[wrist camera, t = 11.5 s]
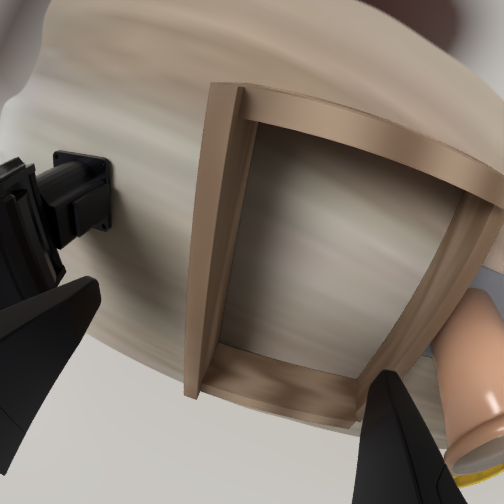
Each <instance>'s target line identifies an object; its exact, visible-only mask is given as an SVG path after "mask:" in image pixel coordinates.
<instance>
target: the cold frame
mask: <svg viewBox="0 0 504 504" xmlns="http://www.w3.org/2000/svg"><path fill="white" fill-rule="evenodd" d="M258 122H262V123H267V124H271V125H276V126H280V127H284V128H288V129H292V130H296V131H300V132H304V133H308V134H312V135H315V136H319V137H322V138H326V139H329V140H333V141H336V142H340V143H343V144H346V145H349V146H353V147H356V148H359V149H362V150H365V151H368V152H371V153H374V154H377V155H380V156H382V157H385V158H388V159H391V160H394V161H396V162H399V163H402V164H404V165H407V166H410V167H412V168H415V169H417V170H420V171H422V172H425V173H427V174H430V175H432V176H434V177H437V178H439V179H441V180H444V181H446V182H448V183H450V184H453V185H455V186H457V187H459V188H461V189H464V190H465V191H464V193H463V196H462V198H461V200H460V203H459V205H458V208H457V210H456V212H455V214H454V217H453V219H452V221H451V223H450V226H449V228H448V230H447V232H446V234H445V236H444V238H443V240H442V242H441V244H440V246H439V248H438V250H437V252H436V254H435V256H434V258H433V260H432V262H431V264H430V266H429V268H428V270H427V272H426V273H425V275H424V277H423V279H422V281H421V282H420V284H419V286H418V288H417V289H416V291H415V293H414V295H413V296H412V298H411V300H410V301H409V303H408V305H407V306H406V308H405V310H404V311H403V313H402V315H401V316H400V318H399V319H398V321H397V322H396V324H395V326H394V327H393V329H392V330H391V332H390V333H389V335H388V336H387V338H386V339H385V341H384V342H383V344H382V345H381V347H380V348H379V350H378V351H377V352H376V354H375V355H374V357H373V358H372V359H371V361H370V362H369V364H368V365H367V366H366V368H365V369H364V370H363V372H362V373H361V374H360V376H359V377H358V378H357V379H352V378H348V377H343V376H339V375H334V374H330V373H325V372H321V371H317V370H313V369H309V368H305V367H301V366H297V365H293V364H289V363H286V362H282V361H278V360H275V359H271V358H268V357H264V356H261V355H257V354H254V353H250V352H247V351H244V350H240V349H237V348H234V347H231V346H228V345H224V344H221V343H219V338H220V332H221V326H222V320H223V314H224V308H225V302H226V296H227V290H228V285H229V279H230V273H231V267H232V262H233V256H234V250H235V245H236V239H237V234H238V228H239V222H240V217H241V212H242V206H243V201H244V195H245V190H246V185H247V179H248V174H249V169H250V163H251V158H252V153H253V148H254V143H255V137H256V132H257V127H258ZM503 222H504V175H502V174H501V173H499V172H498V171H496V170H495V169H493V168H492V167H490V166H488V165H487V164H485V163H483V162H481V161H479V160H477V159H475V158H473V157H471V156H469V155H467V154H466V153H463V152H461V151H459V150H457V149H455V148H453V147H451V146H449V145H447V144H445V143H443V142H440V141H438V140H436V139H434V138H431V137H429V136H427V135H424V134H422V133H420V132H417V131H415V130H412V129H410V128H407V127H405V126H402V125H400V124H397V123H394V122H392V121H389V120H386V119H383V118H380V117H378V116H375V115H372V114H369V113H366V112H363V111H360V110H357V109H353V108H350V107H347V106H343V105H340V104H337V103H333V102H330V101H326V100H322V99H319V98H315V97H311V96H307V95H303V94H298V93H294V92H290V91H285V90H281V89H276V88H271V87H266V86H261V85H255V84H249V83H210V89H209V96H208V102H207V108H206V115H205V122H204V129H203V136H202V144H201V151H200V159H199V167H198V176H197V184H196V193H195V203H194V213H193V223H192V235H191V246H190V259H189V273H188V288H187V306H186V327H185V356H184V395H185V396H187V397H191V398H193V399H196V400H197V398H198V395H199V393H200V391H201V392H204V393H207V394H210V395H213V396H216V397H219V398H222V399H225V400H229V401H232V402H235V403H238V404H242V405H245V406H249V407H252V408H256V409H259V410H263V411H267V412H271V413H274V414H278V415H283V416H287V417H291V418H295V419H300V420H304V421H309V422H314V423H319V424H324V425H329V426H335V427H341V428H347V429H349V428H350V427H351V426H352V425H353V424H354V423H355V421H358V422H361V421H362V420H363V418H364V412H365V407H366V401H367V395H368V389H369V386H370V384H371V383H372V381H373V380H374V379H375V378H376V377H377V375H378V374H379V373H380V372H381V370H383V369H389V370H394V371H396V372H397V373H398V375H399V377H400V379H401V378H402V377H403V376H404V375H405V374H406V372H407V371H408V370H409V369H410V368H411V367H412V365H413V364H414V363H415V362H416V360H417V359H418V358H419V357H420V355H421V354H422V353H423V352H424V350H425V349H426V348H427V347H428V345H429V344H430V343H431V341H432V340H433V339H434V337H435V336H436V335H437V333H438V332H439V331H440V329H441V328H442V326H443V325H444V324H445V322H446V321H447V319H448V318H449V316H450V315H451V313H452V312H453V311H454V309H455V308H456V306H457V304H458V303H459V301H460V300H461V298H462V297H463V295H464V294H465V292H466V290H467V289H468V287H469V286H470V284H471V282H472V281H473V279H474V277H475V276H476V274H477V272H478V270H479V269H480V267H481V265H482V263H483V261H484V260H485V258H486V256H487V254H488V252H489V250H490V248H491V247H492V245H493V243H494V241H495V239H496V237H497V235H498V233H499V231H500V228H501V226H502V224H503Z"/></svg>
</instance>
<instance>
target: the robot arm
mask: <svg viewBox="0 0 504 504" xmlns="http://www.w3.org/2000/svg"><path fill="white" fill-rule="evenodd" d="M102 163H103V164H104V166H103V165H102ZM53 165H54V167H53V168H51V169H49V170H47V171H45V172H43V173H41V174H39V175H37V176H36V175H35V171H36V170H35V165H34V163H33V164H29V165H25V164H24V163H23V162H22V161H21V159H20V158H19V157H17V158H14V159H11V160H9V161H7V162H5V163H3V164H1V165H0V474H2V475H5V474H6V473H7V471H8V468H9V466H10V464H11V462H12V460H13V458H14V456H15V454H16V452H17V450H18V448H19V446H20V444H21V442H22V440H23V438H24V436H25V434H26V432H27V430H28V429H29V427H30V425H31V423H32V421H33V419H34V417H35V416H36V414H37V412H38V410H39V409H40V407H41V405H42V403H43V402H44V400H45V398H46V396H47V395H48V393H49V391H50V390H51V388H52V386H53V385H54V383H55V381H56V380H57V378H58V376H59V374H60V373H61V372H62V370H63V368H64V366H65V365H66V364H67V362H68V360H69V359H70V357H71V356H72V354H73V352H74V351H75V349H76V348H77V346H78V345H79V343H80V342H81V340H82V338H83V336H84V334H85V332H86V330H87V328H88V327H89V325H90V323H91V321H92V319H93V317H94V315H95V314H96V312H97V310H98V308H99V306H100V304H101V294H100V288H99V283H98V281H97V280H96V279H94V278H92V277H90V276H84V277H82V278H79V279H77V280H74V281H72V282H69V283H66V284H64V285H61V286H59V287H57V286H58V285H59V283H60V281H61V280H62V278H63V277H64V275H65V273H66V269H65V267H64V265H63V264H62V262H61V259H60V256H59V253H58V251H57V249H60V250H61V249H62V248H64V247H65V246H66V245H67V244H69V243H70V242H71V241H72V240H74V239H75V238H76V237H81V236H82V235H83V234H85V233H86V232H87V231H89V230H90V229H91V228H95V229H98V230H101V231H104V232H107V231H108V230H109V229H110V228H111V215H110V188H109V161H108V160H107V159H106V158H104V157H98V156H92V155H86V154H80V153H74V152H67V151H61V150H58V151H56V152H54V154H53ZM105 225H106V226H105ZM444 463H445V461H444V459H443V457H442V455H441V453H440V451H439V449H438V447H437V445H436V443H435V441H434V439H433V437H432V435H431V433H430V431H429V429H428V428H427V426H426V424H425V422H424V420H423V418H422V416H421V414H420V413H419V411H418V409H417V407H416V405H415V403H414V402H413V400H412V398H411V396H410V394H409V393H408V391H407V389H406V387H405V386H404V384H403V382H402V380H401V379H400V377H399V375H398V373H397V372H396V371H394V370H389V369H383V370H381V372H380V373H379V374H378V375H377V377H376V378H375V379H374V380H373V381H372V383H371V384H370V386H369V389H368V395H367V401H366V407H365V412H364V418H363V423H362V428H361V434H360V443H359V454H358V462H357V471H356V478H355V486H354V492H353V499H352V504H467V502H466V500H465V499H464V497H463V495H462V494H461V492H460V490H459V488H458V486H457V485H456V483H455V481H454V479H453V477H452V475H451V473H450V471H449V469H448V467H447V465H446V464H444Z"/></svg>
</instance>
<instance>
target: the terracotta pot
mask: <svg viewBox="0 0 504 504" xmlns="http://www.w3.org/2000/svg"><path fill="white" fill-rule="evenodd" d="M430 348H431V353H432V357H433V361H434V366H435V371H436V376H437V381H438V386H439V391H440V397H441V403H442V409H443V415H444V422H445V430H446V438H447V447H448V449H447V451H446V452H445V454H444V461H445V463H444V464H446V465H447V467H448V469H449V471H450V473H451V475H452V476H463V475H469V474H474V473H478V472H481V471H484V470H487V469H490V468H493V467H495V466H497V465H500V464H502V463H504V321H503V319H502V317H501V315H500V313H499V311H498V309H497V307H496V305H495V303H494V301H493V300H492V298H491V296H490V295H489V294H488V293H487V292H486V291H484V290H482V289H479V288H468V289H467V290H466V292H465V294H464V295H463V297H462V298H461V300H460V301H459V303H458V304H457V306H456V308H455V309H454V311H453V312H452V313H451V315H450V316H449V318H448V319H447V321H446V322H445V324H444V325H443V326H442V328H441V329H440V331H439V332H438V333H437V335H436V336H435V337H434V339H433V340H432V341H431V343H430Z"/></svg>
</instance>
